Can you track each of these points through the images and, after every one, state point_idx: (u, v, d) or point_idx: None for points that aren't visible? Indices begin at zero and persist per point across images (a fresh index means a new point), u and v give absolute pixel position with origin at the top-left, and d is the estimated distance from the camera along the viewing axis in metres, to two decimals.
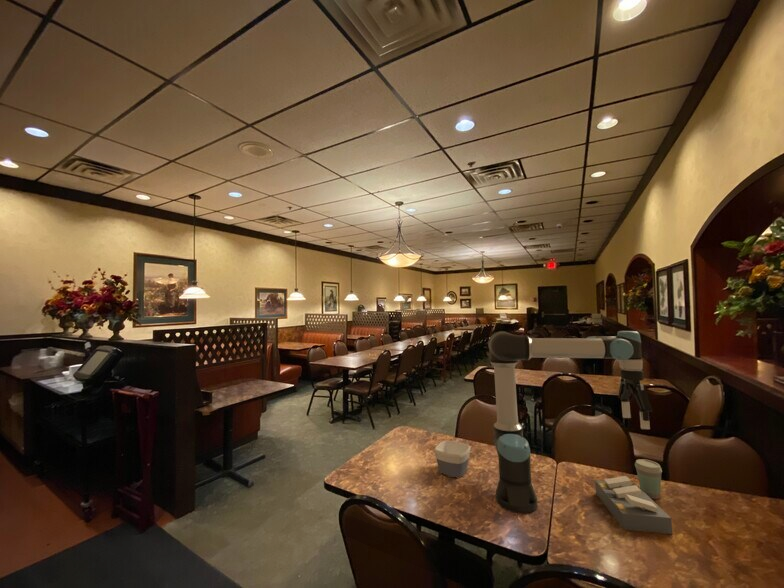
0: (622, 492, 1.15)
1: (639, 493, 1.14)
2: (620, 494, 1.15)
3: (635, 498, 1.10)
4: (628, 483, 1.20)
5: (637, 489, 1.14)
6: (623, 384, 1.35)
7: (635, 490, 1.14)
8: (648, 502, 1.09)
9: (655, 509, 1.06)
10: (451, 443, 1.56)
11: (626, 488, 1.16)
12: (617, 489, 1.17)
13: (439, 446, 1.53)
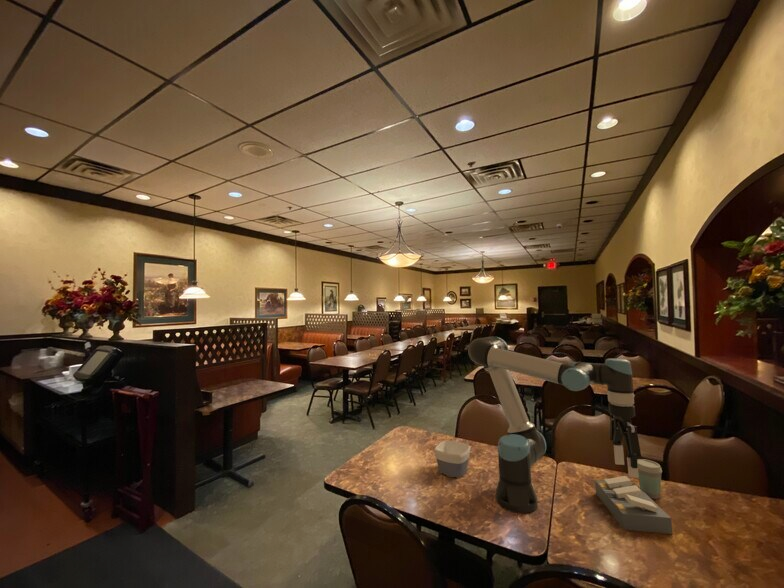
0: (622, 492, 1.15)
1: (639, 493, 1.14)
2: (620, 494, 1.15)
3: (635, 498, 1.10)
4: (628, 483, 1.20)
5: (637, 489, 1.14)
6: (613, 421, 1.17)
7: (635, 490, 1.14)
8: (648, 502, 1.09)
9: (655, 509, 1.06)
10: (451, 443, 1.56)
11: (626, 488, 1.16)
12: (617, 489, 1.17)
13: (439, 446, 1.53)
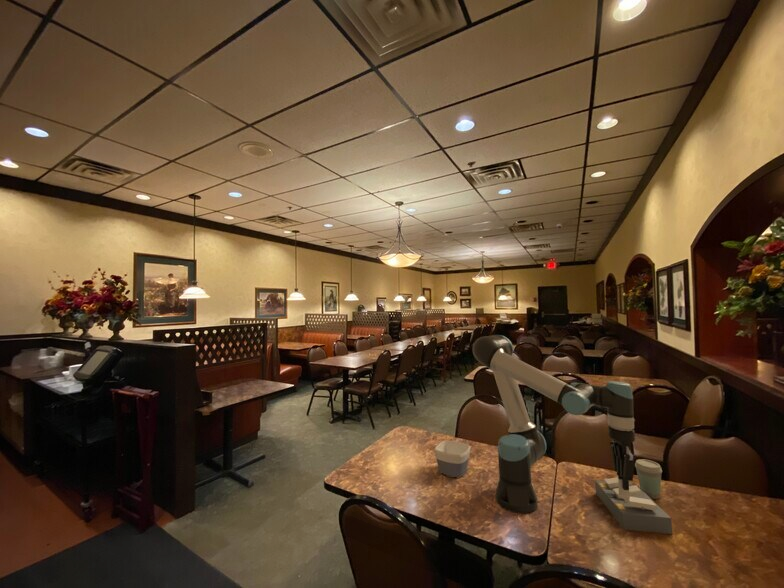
0: None
1: (639, 493, 1.14)
2: None
3: (634, 498, 1.10)
4: None
5: (637, 489, 1.14)
6: (614, 448, 1.15)
7: (635, 490, 1.14)
8: (647, 501, 1.09)
9: (654, 507, 1.06)
10: (451, 443, 1.56)
11: None
12: (617, 489, 1.17)
13: (439, 446, 1.53)
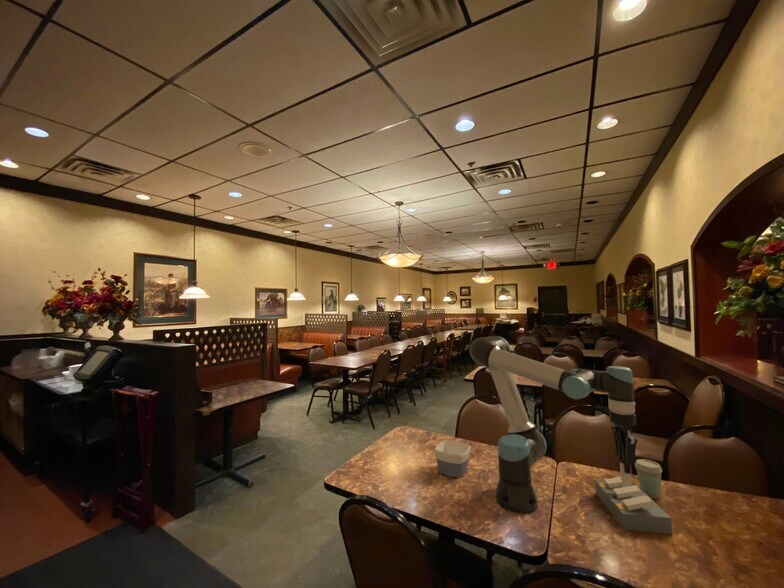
0: (622, 492, 1.15)
1: (639, 493, 1.14)
2: (620, 494, 1.15)
3: (631, 500, 1.10)
4: (628, 483, 1.20)
5: (637, 489, 1.14)
6: None
7: (635, 490, 1.14)
8: (643, 498, 1.09)
9: (651, 503, 1.07)
10: (451, 443, 1.56)
11: (626, 488, 1.16)
12: (617, 489, 1.17)
13: (439, 446, 1.53)
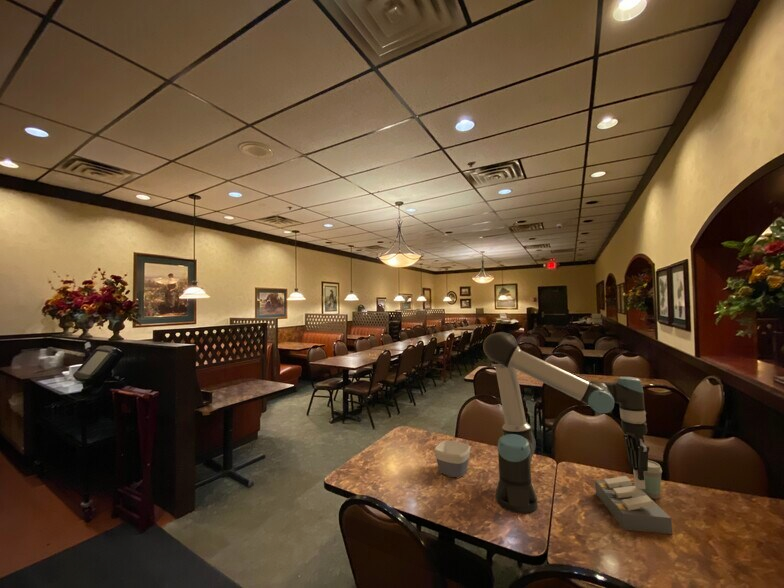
0: (622, 492, 1.15)
1: (639, 493, 1.14)
2: (620, 494, 1.15)
3: (631, 500, 1.10)
4: (628, 483, 1.20)
5: (637, 489, 1.14)
6: (627, 440, 1.21)
7: (635, 491, 1.14)
8: (643, 498, 1.09)
9: (651, 503, 1.07)
10: (451, 443, 1.56)
11: (627, 488, 1.16)
12: (617, 489, 1.17)
13: (439, 446, 1.53)
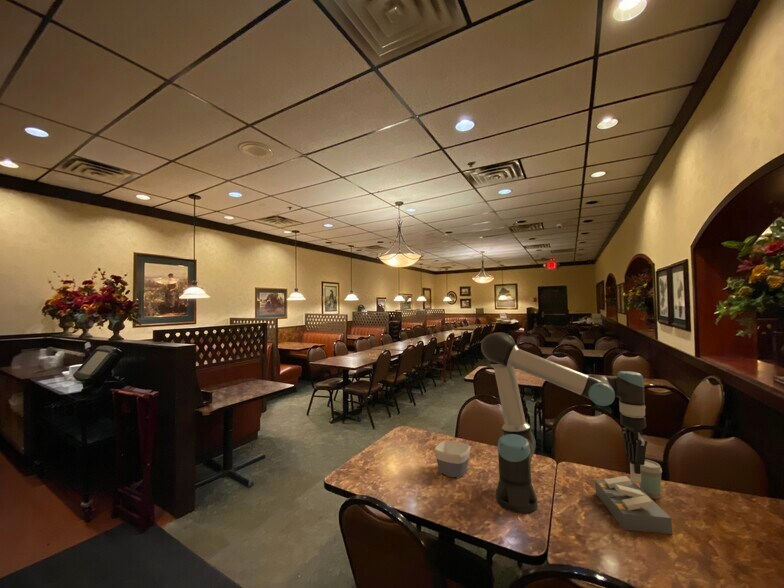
0: (625, 490, 1.15)
1: None
2: (623, 491, 1.15)
3: (631, 500, 1.10)
4: (628, 483, 1.20)
5: (641, 493, 1.14)
6: (625, 434, 1.21)
7: (639, 493, 1.14)
8: (643, 498, 1.09)
9: (651, 503, 1.07)
10: (451, 443, 1.56)
11: (630, 489, 1.16)
12: (620, 486, 1.17)
13: (439, 446, 1.53)
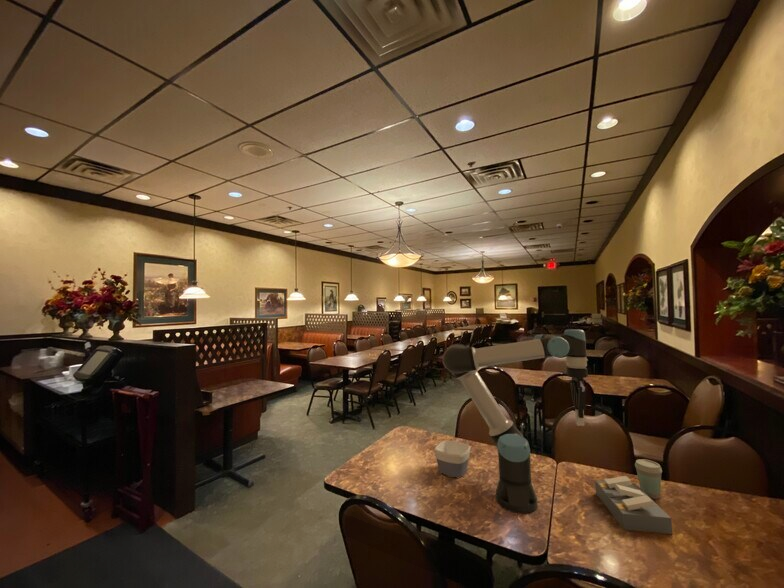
0: (625, 490, 1.15)
1: None
2: (623, 491, 1.15)
3: (631, 500, 1.10)
4: (628, 483, 1.20)
5: (641, 493, 1.14)
6: None
7: (639, 493, 1.14)
8: (643, 498, 1.09)
9: (651, 503, 1.07)
10: (451, 443, 1.56)
11: (630, 489, 1.16)
12: (620, 486, 1.17)
13: (439, 446, 1.53)
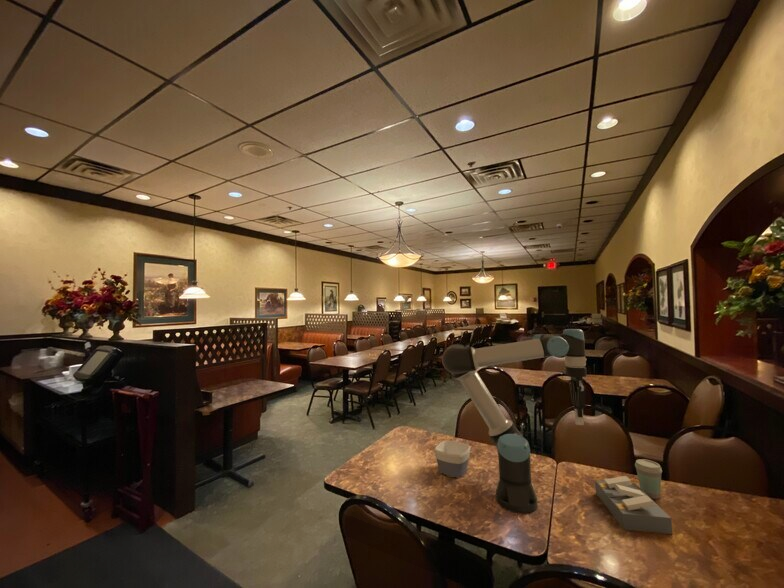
0: (625, 490, 1.15)
1: None
2: (623, 491, 1.15)
3: (631, 500, 1.10)
4: (628, 483, 1.20)
5: (641, 493, 1.14)
6: None
7: (639, 493, 1.14)
8: (643, 498, 1.09)
9: (651, 503, 1.07)
10: (451, 443, 1.56)
11: (630, 489, 1.16)
12: (620, 486, 1.17)
13: (439, 446, 1.53)
